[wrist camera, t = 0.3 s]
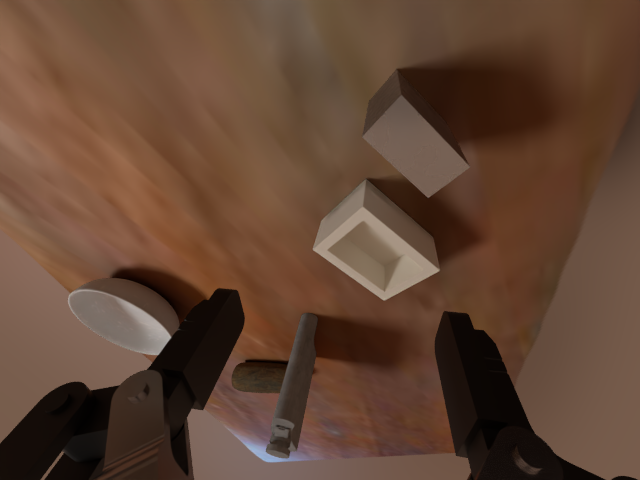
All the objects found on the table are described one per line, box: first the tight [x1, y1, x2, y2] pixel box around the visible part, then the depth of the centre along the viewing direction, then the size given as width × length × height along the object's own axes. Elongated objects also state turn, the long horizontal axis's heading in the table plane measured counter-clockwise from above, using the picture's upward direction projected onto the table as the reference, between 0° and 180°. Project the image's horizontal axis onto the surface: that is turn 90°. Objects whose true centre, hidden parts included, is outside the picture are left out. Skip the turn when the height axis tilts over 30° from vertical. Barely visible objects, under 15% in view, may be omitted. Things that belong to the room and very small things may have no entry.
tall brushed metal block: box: [362, 69, 470, 198], centre depth 23 cm, size 4×7×10 cm, turn 52°
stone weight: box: [232, 362, 288, 393], centre depth 65 cm, size 15×7×7 cm, turn 108°
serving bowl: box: [68, 278, 180, 355], centre depth 56 cm, size 21×21×7 cm
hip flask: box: [266, 313, 318, 458], centre depth 49 cm, size 16×4×20 cm, turn 178°
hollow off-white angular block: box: [313, 179, 440, 300], centre depth 34 cm, size 8×12×6 cm
